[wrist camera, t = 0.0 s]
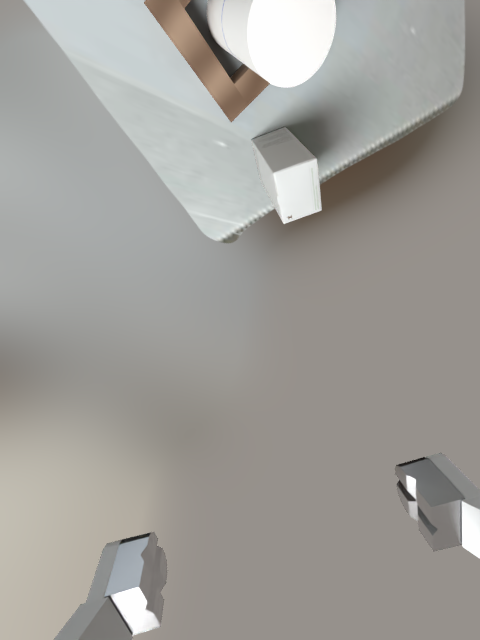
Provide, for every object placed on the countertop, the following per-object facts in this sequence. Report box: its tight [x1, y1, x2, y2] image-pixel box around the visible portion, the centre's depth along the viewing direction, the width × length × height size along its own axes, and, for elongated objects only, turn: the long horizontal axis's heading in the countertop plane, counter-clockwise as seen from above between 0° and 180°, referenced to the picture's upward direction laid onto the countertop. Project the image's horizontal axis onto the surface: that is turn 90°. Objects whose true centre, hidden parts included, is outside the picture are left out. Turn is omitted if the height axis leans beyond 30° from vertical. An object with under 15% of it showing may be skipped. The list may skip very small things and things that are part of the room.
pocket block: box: [144, 0, 270, 122], centre depth 40 cm, size 16×16×4 cm
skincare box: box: [251, 127, 322, 224], centre depth 50 cm, size 8×7×16 cm
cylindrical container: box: [207, 0, 336, 88], centre depth 33 cm, size 7×7×25 cm
